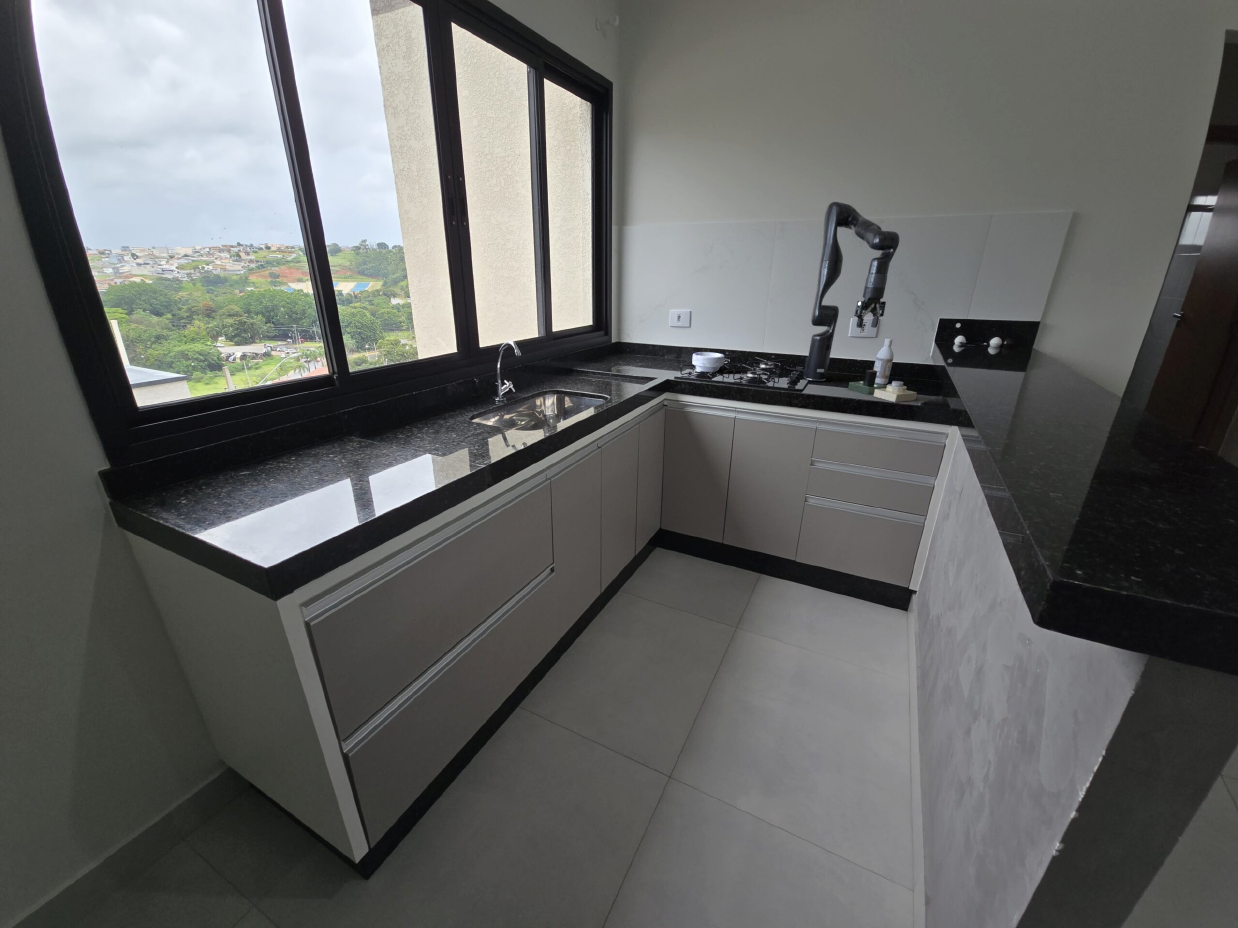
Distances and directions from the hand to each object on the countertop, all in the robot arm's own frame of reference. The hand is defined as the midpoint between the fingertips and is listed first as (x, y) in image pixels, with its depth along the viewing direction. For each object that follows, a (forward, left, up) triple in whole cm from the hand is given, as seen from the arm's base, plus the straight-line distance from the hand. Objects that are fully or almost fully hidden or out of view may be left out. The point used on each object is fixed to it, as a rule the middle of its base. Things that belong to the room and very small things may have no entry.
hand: (866, 327), depth 207 cm
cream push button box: (+16, +5, -26) cm, 31 cm away
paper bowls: (-54, -38, -26) cm, 71 cm away
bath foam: (-8, +26, -26) cm, 38 cm away
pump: (+16, +5, -21) cm, 27 cm away
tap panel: (+3, +5, -26) cm, 27 cm away
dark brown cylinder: (+3, +5, -23) cm, 24 cm away
